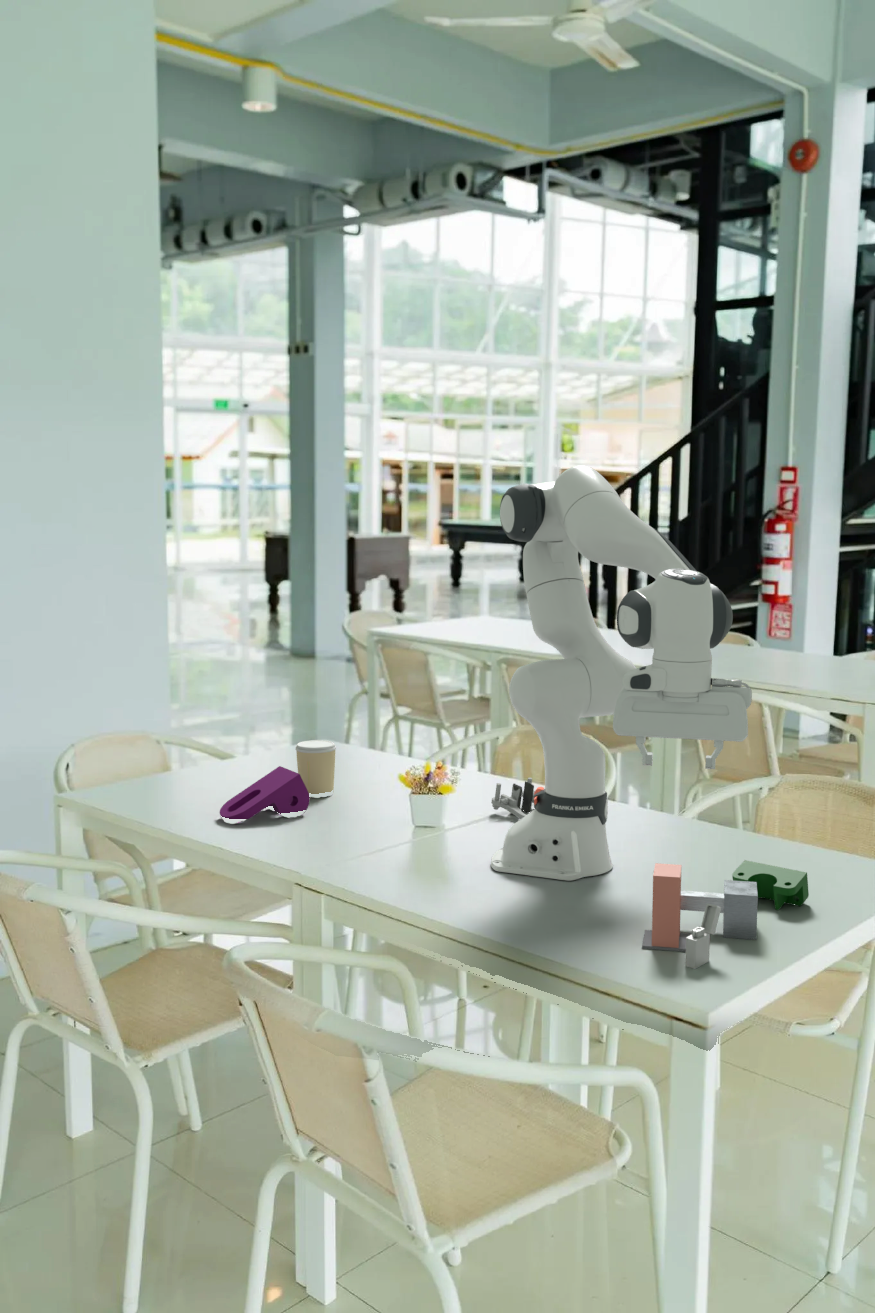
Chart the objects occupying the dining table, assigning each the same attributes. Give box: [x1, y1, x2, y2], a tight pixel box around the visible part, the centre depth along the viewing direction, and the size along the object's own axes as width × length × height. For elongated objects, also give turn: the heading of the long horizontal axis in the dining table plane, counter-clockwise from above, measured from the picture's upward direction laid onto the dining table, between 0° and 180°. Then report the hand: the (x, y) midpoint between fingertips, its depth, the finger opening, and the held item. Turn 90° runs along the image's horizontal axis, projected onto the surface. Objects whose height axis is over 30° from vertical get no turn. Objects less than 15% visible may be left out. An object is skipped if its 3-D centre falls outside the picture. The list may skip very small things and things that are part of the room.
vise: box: [680, 879, 759, 941], centre depth 189 cm, size 16×7×7 cm, turn 77°
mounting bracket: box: [219, 765, 311, 820], centre depth 257 cm, size 10×8×18 cm
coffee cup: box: [295, 739, 337, 794], centre depth 276 cm, size 9×9×12 cm
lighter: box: [684, 904, 721, 969], centre depth 175 cm, size 7×2×8 cm, turn 137°
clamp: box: [731, 859, 810, 911], centre depth 201 cm, size 12×6×9 cm, turn 44°
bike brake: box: [491, 777, 535, 820], centre depth 255 cm, size 14×7×20 cm
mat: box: [641, 929, 691, 953], centre depth 183 cm, size 7×7×1 cm
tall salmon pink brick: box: [651, 862, 683, 948], centre depth 182 cm, size 4×6×11 cm, turn 167°
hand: (678, 766), depth 182 cm, fingers open, 8 cm apart
